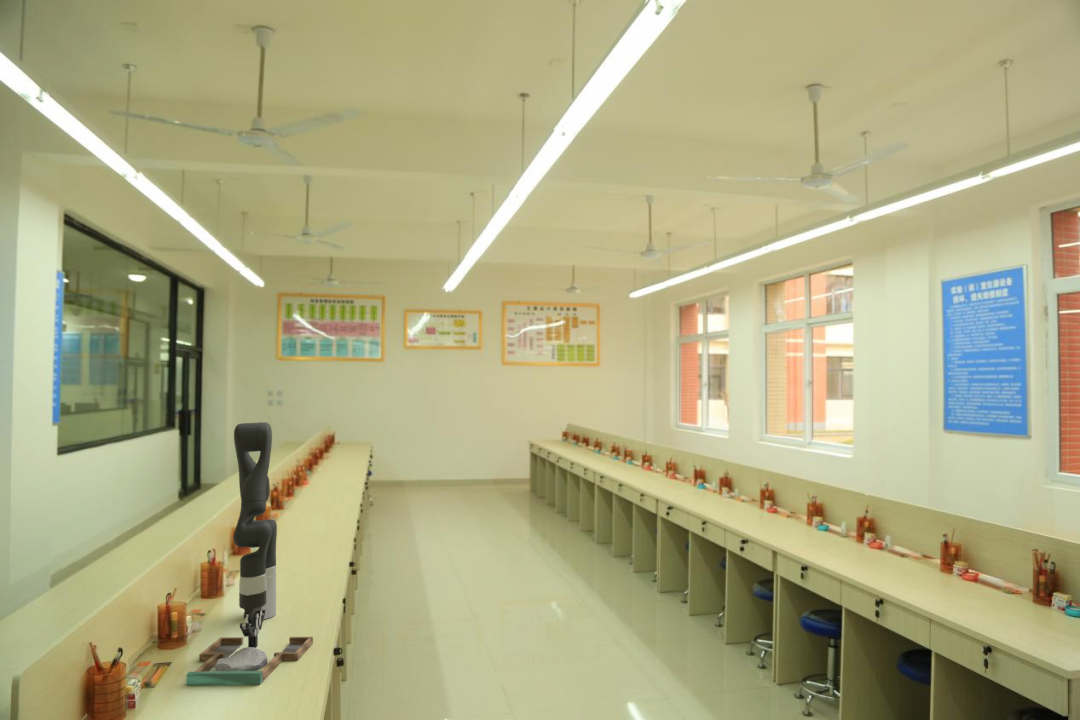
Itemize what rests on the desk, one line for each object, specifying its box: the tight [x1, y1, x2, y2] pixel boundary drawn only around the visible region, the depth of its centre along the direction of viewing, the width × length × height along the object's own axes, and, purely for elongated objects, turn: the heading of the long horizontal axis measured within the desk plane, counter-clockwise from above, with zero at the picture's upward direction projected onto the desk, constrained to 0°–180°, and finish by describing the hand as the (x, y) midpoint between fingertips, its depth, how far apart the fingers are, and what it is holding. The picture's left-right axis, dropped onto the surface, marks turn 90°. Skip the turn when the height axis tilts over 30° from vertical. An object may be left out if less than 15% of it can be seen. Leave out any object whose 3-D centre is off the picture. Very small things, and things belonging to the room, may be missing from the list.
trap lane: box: [186, 636, 314, 686], centre depth 197 cm, size 28×29×3 cm
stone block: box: [214, 646, 269, 671], centre depth 193 cm, size 12×5×10 cm
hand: (252, 648), depth 201 cm, fingers closed
